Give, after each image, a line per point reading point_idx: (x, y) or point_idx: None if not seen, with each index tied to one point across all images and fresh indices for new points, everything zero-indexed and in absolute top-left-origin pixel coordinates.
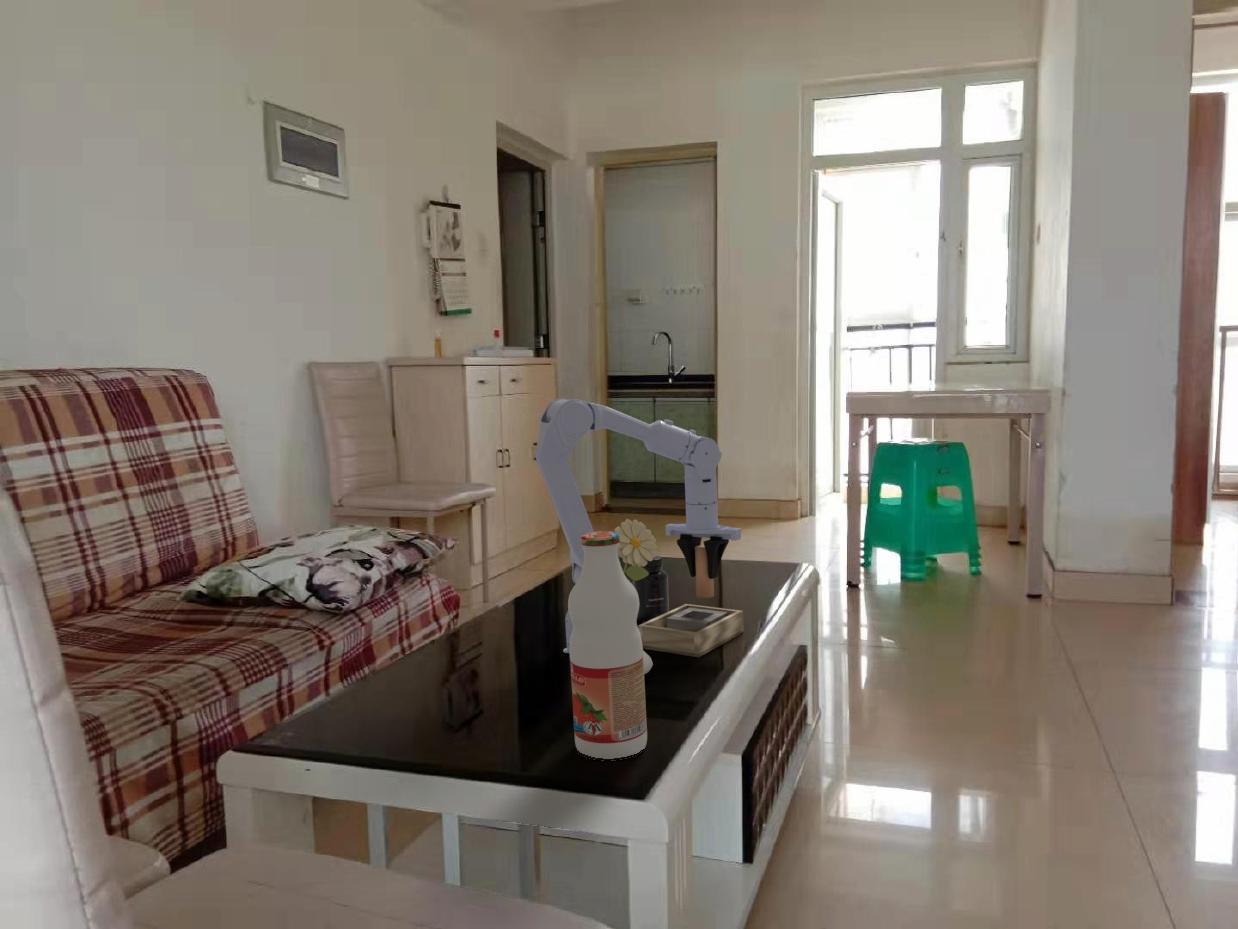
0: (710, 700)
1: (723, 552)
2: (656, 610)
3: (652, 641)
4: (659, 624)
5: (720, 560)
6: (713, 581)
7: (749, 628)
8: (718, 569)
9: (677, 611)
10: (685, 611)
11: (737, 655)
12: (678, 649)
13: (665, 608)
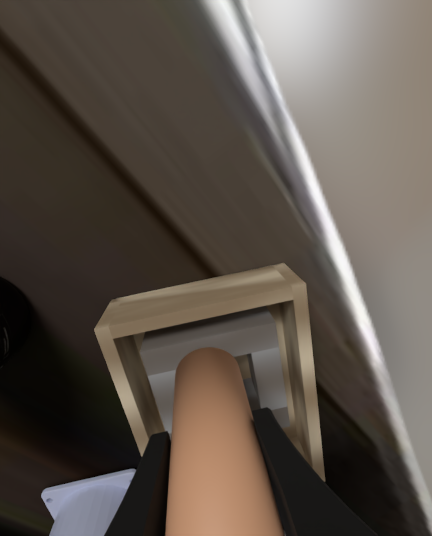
0: (423, 525)
1: (362, 524)
2: (12, 353)
3: None
4: None
5: (316, 477)
6: (245, 398)
7: (274, 223)
8: (283, 432)
9: (131, 385)
10: (164, 387)
11: (360, 386)
12: None
13: (11, 322)
